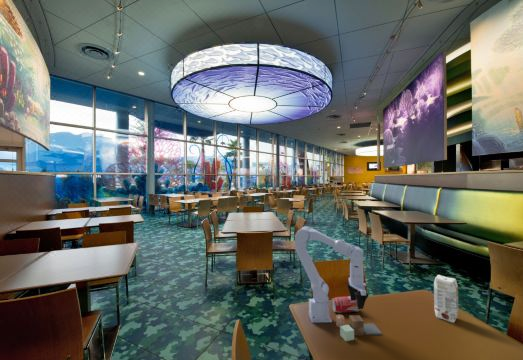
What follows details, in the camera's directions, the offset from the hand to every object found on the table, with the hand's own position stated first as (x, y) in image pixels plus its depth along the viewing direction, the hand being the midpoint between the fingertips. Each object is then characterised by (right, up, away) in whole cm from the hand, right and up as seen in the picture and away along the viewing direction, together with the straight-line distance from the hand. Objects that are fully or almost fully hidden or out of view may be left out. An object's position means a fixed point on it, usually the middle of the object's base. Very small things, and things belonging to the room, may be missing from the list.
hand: (356, 304), depth 108 cm
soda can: (+6, -6, +13) cm, 16 cm away
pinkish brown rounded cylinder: (-8, -10, 0) cm, 12 cm away
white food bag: (+45, -10, +6) cm, 47 cm away
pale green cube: (-7, -10, -8) cm, 15 cm away
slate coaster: (+4, -10, -3) cm, 11 cm away
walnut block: (-2, -10, -5) cm, 11 cm away
